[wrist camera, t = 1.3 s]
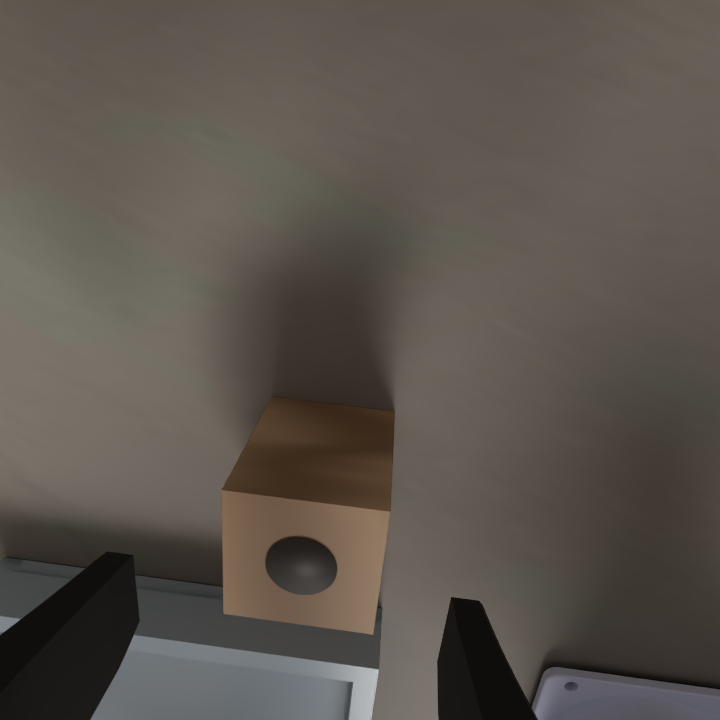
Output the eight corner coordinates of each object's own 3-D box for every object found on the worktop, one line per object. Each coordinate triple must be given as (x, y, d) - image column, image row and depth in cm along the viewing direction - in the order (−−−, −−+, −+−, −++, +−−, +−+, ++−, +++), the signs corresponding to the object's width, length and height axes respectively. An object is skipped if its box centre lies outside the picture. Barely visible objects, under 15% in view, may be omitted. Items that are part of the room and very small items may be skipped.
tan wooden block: (395, 410, 17) (390, 513, 12) (381, 511, 18) (373, 636, 13) (272, 396, 17) (220, 491, 12) (269, 496, 18) (222, 615, 14)
